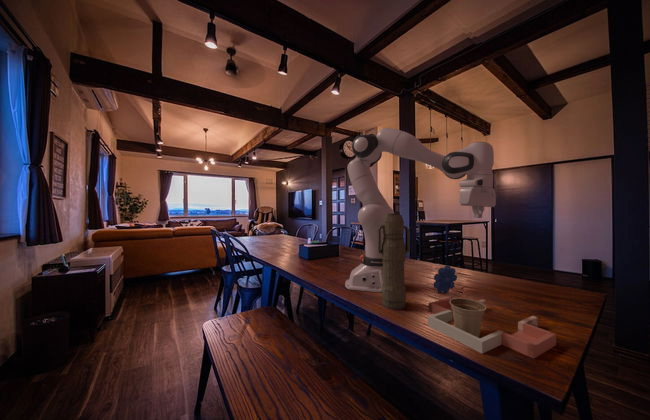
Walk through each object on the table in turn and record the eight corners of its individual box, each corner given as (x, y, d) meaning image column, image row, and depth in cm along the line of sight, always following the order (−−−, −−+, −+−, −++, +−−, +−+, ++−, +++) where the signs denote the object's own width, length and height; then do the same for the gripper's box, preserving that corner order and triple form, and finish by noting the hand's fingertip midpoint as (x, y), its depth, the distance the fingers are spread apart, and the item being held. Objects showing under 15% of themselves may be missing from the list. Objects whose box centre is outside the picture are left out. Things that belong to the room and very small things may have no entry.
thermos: (414, 308, 88) (413, 213, 88) (383, 310, 86) (382, 214, 86) (403, 299, 97) (403, 213, 96) (375, 301, 95) (374, 213, 95)
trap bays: (451, 304, 91) (451, 296, 91) (556, 345, 64) (556, 333, 64) (428, 311, 85) (428, 303, 85) (533, 358, 58) (533, 346, 58)
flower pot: (492, 343, 65) (492, 312, 65) (455, 339, 67) (455, 309, 67) (478, 326, 74) (478, 299, 74) (445, 324, 76) (445, 297, 76)
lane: (482, 307, 88) (482, 299, 88) (537, 326, 74) (537, 317, 74) (467, 312, 84) (467, 304, 84) (522, 334, 70) (522, 323, 70)
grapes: (449, 288, 109) (449, 262, 109) (460, 293, 103) (460, 265, 103) (427, 290, 106) (427, 264, 106) (437, 296, 100) (437, 267, 100)
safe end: (448, 318, 80) (448, 309, 80) (504, 343, 65) (504, 332, 65) (427, 325, 75) (427, 316, 75) (482, 353, 60) (482, 342, 60)
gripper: (484, 185, 103) (483, 217, 103) (456, 181, 93) (455, 217, 93) (501, 184, 97) (499, 218, 98) (473, 180, 87) (471, 218, 87)
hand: (477, 217), depth 95 cm, fingers closed
